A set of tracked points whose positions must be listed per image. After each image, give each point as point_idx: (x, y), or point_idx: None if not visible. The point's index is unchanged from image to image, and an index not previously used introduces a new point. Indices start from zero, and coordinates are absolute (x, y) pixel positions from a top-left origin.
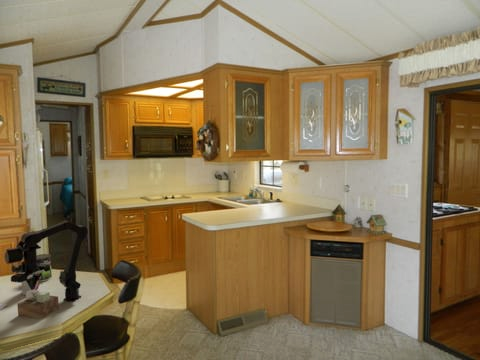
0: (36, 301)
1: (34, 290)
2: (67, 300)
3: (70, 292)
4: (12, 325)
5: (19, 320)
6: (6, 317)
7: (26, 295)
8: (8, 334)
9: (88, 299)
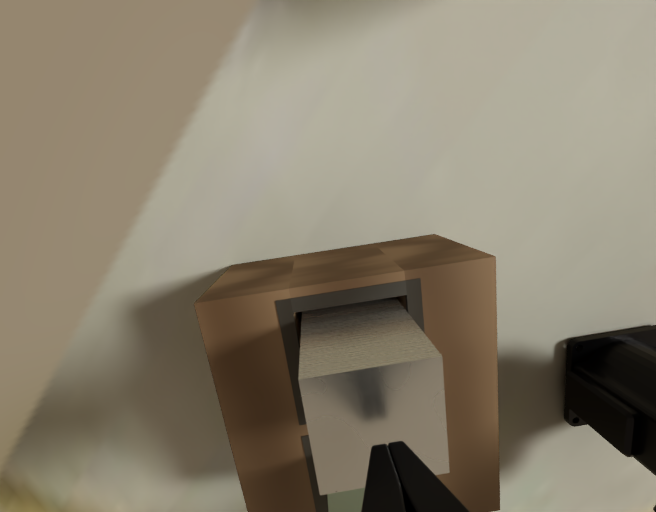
0: None
1: (421, 421)
2: (566, 379)
3: (638, 460)
4: (113, 377)
5: (186, 350)
6: (162, 207)
7: (301, 359)
8: (31, 466)
9: (618, 473)
